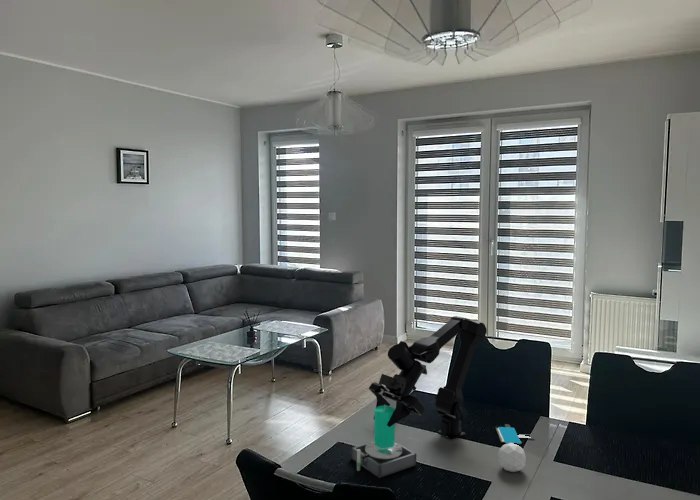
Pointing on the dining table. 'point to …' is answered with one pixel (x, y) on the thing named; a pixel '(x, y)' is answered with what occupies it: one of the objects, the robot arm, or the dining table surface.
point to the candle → (383, 427)
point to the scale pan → (382, 452)
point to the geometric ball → (512, 457)
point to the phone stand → (509, 435)
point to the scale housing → (383, 467)
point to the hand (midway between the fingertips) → (381, 423)
